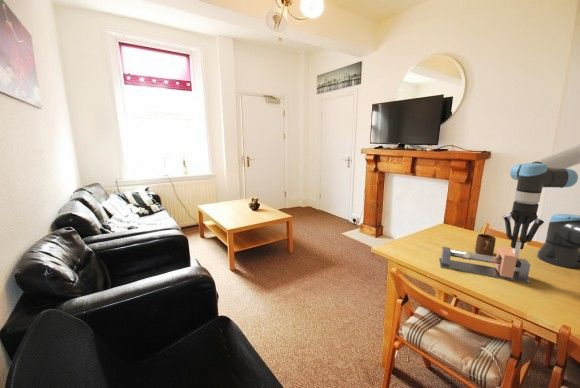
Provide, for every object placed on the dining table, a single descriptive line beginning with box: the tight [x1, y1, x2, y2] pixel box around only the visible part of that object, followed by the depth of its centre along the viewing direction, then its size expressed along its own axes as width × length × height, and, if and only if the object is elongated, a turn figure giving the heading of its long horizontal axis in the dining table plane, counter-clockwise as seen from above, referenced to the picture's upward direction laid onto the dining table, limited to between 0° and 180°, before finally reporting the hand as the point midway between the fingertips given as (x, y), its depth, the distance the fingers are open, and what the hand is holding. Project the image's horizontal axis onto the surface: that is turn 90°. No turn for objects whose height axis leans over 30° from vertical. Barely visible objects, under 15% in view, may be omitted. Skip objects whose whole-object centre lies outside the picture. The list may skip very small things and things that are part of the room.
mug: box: [474, 233, 497, 256], centre depth 130 cm, size 12×8×9 cm, turn 150°
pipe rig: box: [438, 246, 532, 285], centre depth 115 cm, size 32×9×8 cm, turn 64°
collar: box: [494, 245, 518, 278], centre depth 111 cm, size 4×10×10 cm, turn 155°
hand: (515, 255), depth 109 cm, fingers closed
